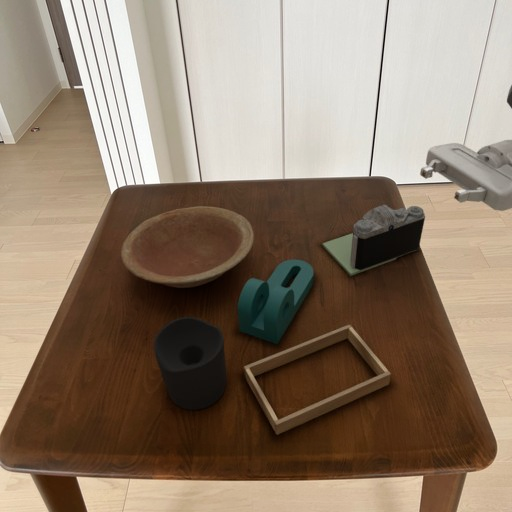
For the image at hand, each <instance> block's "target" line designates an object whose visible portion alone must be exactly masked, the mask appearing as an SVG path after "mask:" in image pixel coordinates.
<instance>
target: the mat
mask: <svg viewBox="0 0 512 512" xmlns="http://www.w3.org/2000/svg"><path fill="white" fill-rule="evenodd" d="M352 239H353V232H352V233H349V234H346V235H344V236H340V237H337V238H334V239H331V240H329V241H325V242H322V247H323V248H324V249H325V250H326V251H327V253H329V255H330V256H331V257H332V258H333V259H334V260H335V261H336V262H337V263H338V264H339V266H341V267H342V269H343V270H344V271H345V272H346V273H347V274H348V275H349V276H350V277H352V276H355V275H357V274H360V273H362V272H365V271H368V270H371V269H373V268H374V269H375V268H377V267H379V266H381V265H384V264H387V263H390V262H393V261H395V260H397V258H394V259H391V260H389V261H386V262H383V263H380V264H378V265H375V266H372V267H369V268H367V269H364V270H357V269H355V268H353V267H351V266H350V264H351V262H350V260H351V250H352Z"/></svg>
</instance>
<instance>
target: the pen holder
mask: <svg viewBox="0 0 512 512" xmlns="http://www.w3.org/2000/svg"><path fill="white" fill-rule="evenodd" d="M224 342H225V341H224V333H223V332H222V329H221V328H220V327H219V326H218V325H215V324H212V323H209V322H208V321H205V320H203V319H200V318H197V317H194V316H182V317H177V318H176V319H174V320H171V321H170V322H168V323H167V324H165V325H164V326H163V327H162V328H160V330H159V331H158V332H157V334H156V336H155V338H154V342H153V352H154V353H153V354H154V356H155V359H156V361H157V366H158V368H159V371H160V374H161V377H162V380H163V384H164V386H165V389H166V392H167V394H168V396H169V398H170V400H171V401H172V402H173V403H174V404H175V405H176V406H178V407H179V408H181V409H185V410H190V411H196V410H203V409H207V408H208V407H210V406H213V405H214V404H215V403H216V402H218V401H219V400H220V398H222V396H223V394H224V393H225V390H226V387H227V368H226V367H227V366H226V356H225V355H226V354H225V353H226V352H225V343H224Z"/></svg>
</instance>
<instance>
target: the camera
mask: <svg viewBox="0 0 512 512" xmlns="http://www.w3.org/2000/svg"><path fill="white" fill-rule="evenodd" d="M425 219H426V215H425V212H424V209H423V208H422V207H420V206H418V205H411V206H409V207H407V208H404V207H401V208H398V209H393V208H391V207H389V206H388V205H387V204H383V205H379V206H377V207H374V208H372V209H370V210H368V211H367V212H366V213H365V214H364V215H363V216H362V218H361V219H359V220H358V221H357V222H355V223H354V224H353V229H352V233H353V239H352V250H351V260H350V262H351V264H350V266H351V267H353V268H355V269H357V270H364V269H367V268H369V267H372V266H375V265H378V264H380V263H383V262H386V261H389V260H391V259H394V258H396V259H397V258H399V257H402V256H405V255H407V254H410V253H413V252H416V251H418V250H419V248H420V246H421V245H420V244H421V239H422V234H423V229H424V224H425Z"/></svg>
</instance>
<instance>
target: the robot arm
mask: <svg viewBox="0 0 512 512" xmlns="http://www.w3.org/2000/svg"><path fill="white" fill-rule="evenodd" d="M506 97H507V98H506V103H507V105H508V106H509V107H510V108H511V109H512V84H511V85H510V87H509V90H508V93H507V96H506ZM434 173H435V174H436V173H438V174H439V175H440V176H442V177H444V178H445V179H447V180H449V181H450V182H451V183H453V184H454V185H456V186H457V187H458V188H459V187H460V189H458V190H456V191H455V193H454V198H453V199H454V200H456V201H457V202H459V204H460V203H465V202H477V203H479V202H481V203H483V204H485V205H487V206H488V207H489V208H490V209H492V210H494V211H500V212H505V211H508V210H511V209H512V139H504V140H501V141H498V142H494V143H491V144H487V145H484V146H482V147H481V148H480V149H478V151H477V152H476V151H475V150H473V149H471V148H469V147H467V146H466V145H464V144H462V143H458V142H452V143H445V144H444V143H443V144H439V145H434V146H432V147H430V148H428V151H427V153H426V159H425V166H422V168H421V169H420V173H419V175H420V177H422V178H424V179H425V180H426V179H430V178H433V174H434Z"/></svg>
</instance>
